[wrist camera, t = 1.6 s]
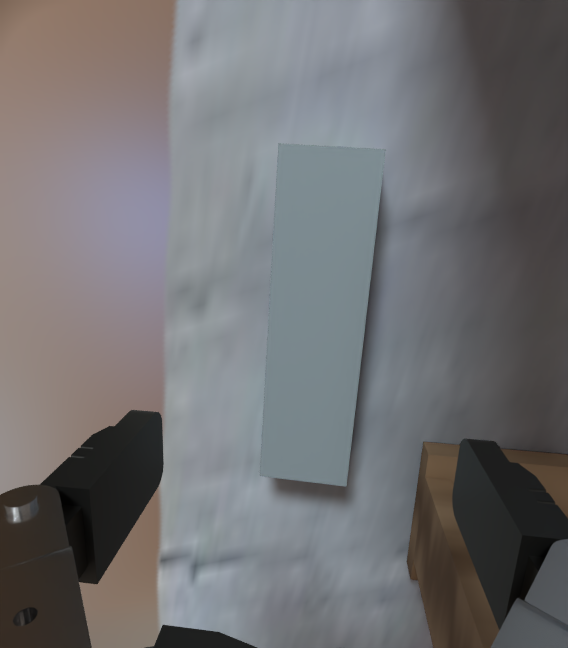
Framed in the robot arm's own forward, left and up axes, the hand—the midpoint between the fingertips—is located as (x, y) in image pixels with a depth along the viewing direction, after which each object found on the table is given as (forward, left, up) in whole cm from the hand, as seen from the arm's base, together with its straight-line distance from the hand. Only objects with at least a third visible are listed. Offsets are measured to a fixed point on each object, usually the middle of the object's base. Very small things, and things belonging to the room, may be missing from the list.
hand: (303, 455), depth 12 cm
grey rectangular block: (0, 0, -15) cm, 15 cm away
